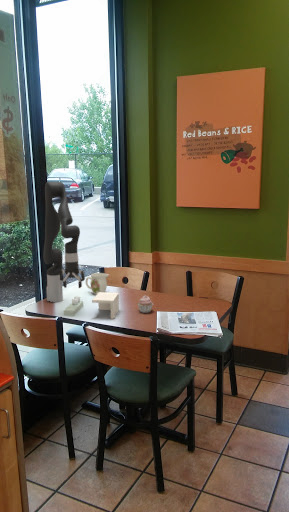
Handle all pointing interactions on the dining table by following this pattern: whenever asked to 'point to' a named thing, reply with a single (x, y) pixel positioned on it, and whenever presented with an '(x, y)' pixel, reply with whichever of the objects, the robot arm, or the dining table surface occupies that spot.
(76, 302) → the caddy
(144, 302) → the cupcake
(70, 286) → the dining table surface
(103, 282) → the pitcher
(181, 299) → the dining table surface
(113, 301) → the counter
